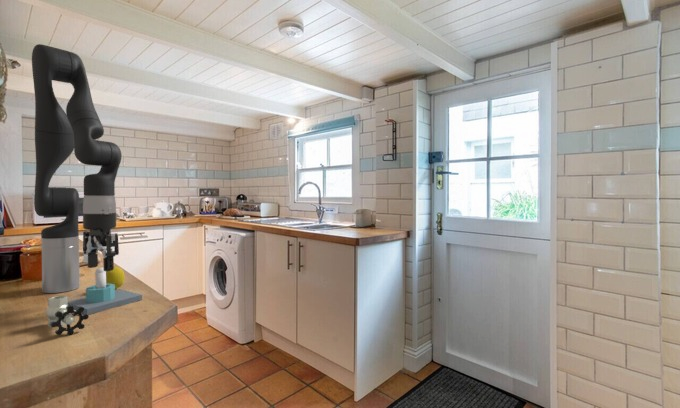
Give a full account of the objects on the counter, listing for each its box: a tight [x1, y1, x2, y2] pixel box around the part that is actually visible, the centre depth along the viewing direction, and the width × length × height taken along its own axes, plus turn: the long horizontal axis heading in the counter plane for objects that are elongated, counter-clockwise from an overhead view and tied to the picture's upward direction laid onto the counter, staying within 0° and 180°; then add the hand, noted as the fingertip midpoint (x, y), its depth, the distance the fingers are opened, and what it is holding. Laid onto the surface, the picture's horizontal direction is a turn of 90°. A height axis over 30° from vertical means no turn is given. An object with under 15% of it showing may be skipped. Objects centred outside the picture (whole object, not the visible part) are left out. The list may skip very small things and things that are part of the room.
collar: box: [85, 284, 115, 303], centre depth 92 cm, size 6×6×4 cm
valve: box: [45, 295, 89, 337], centre depth 76 cm, size 7×7×12 cm
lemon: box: [106, 265, 126, 290], centre depth 105 cm, size 6×6×8 cm
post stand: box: [67, 267, 143, 316], centre depth 93 cm, size 12×14×10 cm
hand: (100, 268), depth 92 cm, fingers open, 8 cm apart
